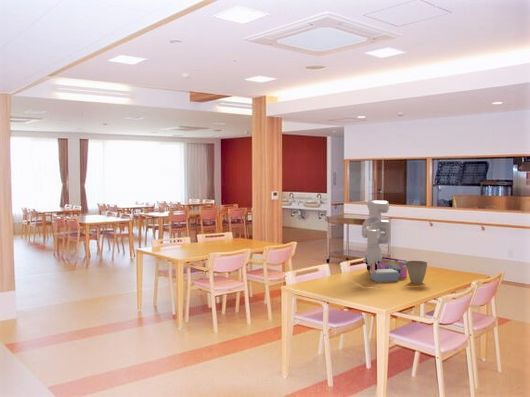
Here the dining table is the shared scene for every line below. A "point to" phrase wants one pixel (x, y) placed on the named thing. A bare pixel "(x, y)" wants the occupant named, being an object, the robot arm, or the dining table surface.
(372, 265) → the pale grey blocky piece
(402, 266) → the gum box
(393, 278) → the tub
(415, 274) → the plant pot
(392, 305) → the dining table surface
